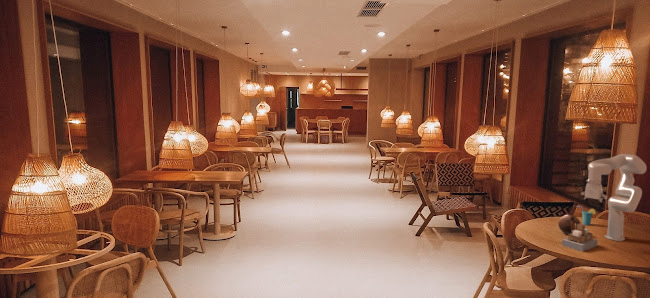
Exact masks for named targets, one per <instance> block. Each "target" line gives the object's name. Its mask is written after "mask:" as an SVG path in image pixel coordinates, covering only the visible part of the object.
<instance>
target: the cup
mask: <svg viewBox="0 0 650 298" xmlns="http://www.w3.org/2000/svg"><path fill="white" fill-rule="evenodd" d="M576 208H581V214H582V218H581V219H582V224H584V225H585V226H591V222H592V217H593V215H596V213H597V212H596V209H594V208H589V210H584V209H583V208H584V207H583V206H582V205H576Z"/></svg>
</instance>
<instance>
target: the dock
mask: <svg viewBox="0 0 650 298" xmlns="http://www.w3.org/2000/svg"><path fill="white" fill-rule="evenodd" d="M562 245H563V246H562ZM561 246H562V247H565V246H566V247H565V248H568V247H569V249H571V250H572V249H573V250H576V251H579V252H586V251H588V250H590V249H593V248H596V247H597V246H598V239H595V238H592V239H590V240H588V241H585V242H582V243H577V241H574V240H573V241H569V240H568V237H565V238H563V239H562V240H561Z"/></svg>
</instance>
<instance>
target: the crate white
mask: <svg viewBox="0 0 650 298" xmlns="http://www.w3.org/2000/svg"><path fill="white" fill-rule="evenodd" d="M581 234H582V232H581V231H577V230H574V231H573V236H577V237H581Z"/></svg>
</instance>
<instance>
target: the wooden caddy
mask: <svg viewBox="0 0 650 298" xmlns="http://www.w3.org/2000/svg"><path fill="white" fill-rule="evenodd" d="M585 228H586V225H584V224H583V223H581V224H577V231H581V232H582V234H581V237H577V236H573V233H572V234H567V235H568V237H567V238H568V240H569V241H573V240H574V241H577V243H582V242H585V241H588V240H590V239H593V233H592V232H589V231H588V234H587V235H584V232H585Z"/></svg>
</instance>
